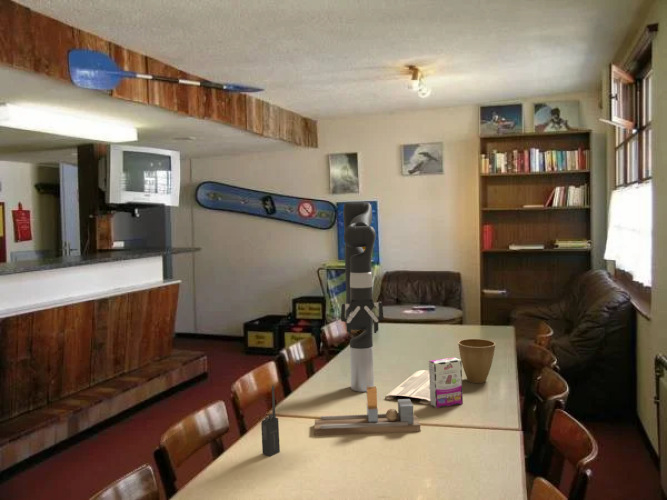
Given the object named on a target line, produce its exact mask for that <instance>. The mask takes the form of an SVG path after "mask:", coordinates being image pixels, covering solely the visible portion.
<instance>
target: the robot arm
mask: <svg viewBox="0 0 667 500" xmlns="http://www.w3.org/2000/svg"><path fill="white" fill-rule="evenodd" d="M372 207H373V206H372V204H371V203H370V202H368V201H347V202H345V203H344V205H343V207H342V208H343V211H342V213H343V214H342V215H343V229H344V233H343V240H344V244H345V245H344V247H345V248H344V249H345V251H344V254H345V255H344V256H345V257H344V267H345V268H344V270H345V271H344V272H345V276H344V277H345V303H344V302H342V303H341V305H340V306H341V307H340V321H341V322H344V323H345V327H346V332H347V333H348V334H349V335H352V331H363V332H362V333H360V334H359V335H357V336H353V337H352V338H351V339H349V357H350V358H349V359H350V361H349V362H350V363H349V364H350V365H349V366H350V389H351V390H352V391H354V392H362V393H363V392H367V387H375V385H374V384H375V380H374V379H375V377H374V376H375V375H374V345H373V343H374V342H373V340H374V339H373V338H374V337H373V334H377V332H379V322H380V321H383V320H384V309H383V308H384V307H383V303H382V301H378V302H374V298H373V297H374V296H373V294H374V293H373V292H374V291H373V283H374V282H373V275H372V254H373V249H374V245H375V242H376V237H377V234H376V230H375V228H374V226H371V224H372V221H373V208H372ZM363 248H365V249H363ZM374 307H375V308H376V309H377V310H378V316H376V315H375V313H374V312H373V309H374Z"/></svg>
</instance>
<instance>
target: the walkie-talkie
mask: <svg viewBox="0 0 667 500" xmlns="http://www.w3.org/2000/svg"><path fill="white" fill-rule="evenodd" d="M271 395H272V397H271V398H272V399H271V401H272V402H271V405H272V407H271V409H272V414H268V415H267V416H265V417H264V419H263V420H261V424H260V426H261V443H262V444H261V446H262V454H263V455H264V456H267V457H272V456H274V455H277V454H279V453H280V452H281V451H280V450H281V449H280V448H281V447H280V428H279V417H277V416H276V415H277V414H276V402H275V401H276V400H275V385H272V386H271Z"/></svg>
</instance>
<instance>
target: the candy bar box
mask: <svg viewBox="0 0 667 500" xmlns="http://www.w3.org/2000/svg"><path fill="white" fill-rule="evenodd" d="M462 368H463V365H462V361H461V358H458V357H448V358H447V357H446V358H441V359H432V360H429V361H428V371H429V379H430V402H429V403H430V404H429V405H431V406H432V407H434V408H437V409H439V408H444V407H446V408H447V407H452V406H457V405H462V404H464V400H463V399H464V398H463V397H464V396H463V371H462Z"/></svg>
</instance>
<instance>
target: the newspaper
mask: <svg viewBox="0 0 667 500" xmlns="http://www.w3.org/2000/svg"><path fill="white" fill-rule="evenodd" d="M397 396H399V397H405V398H406V397H407V398H408V397H409V398H415V399H421V400H420V401H419V402H418V403H420V404H425V405H431V404H430V379H429V370H427V369H426V370H424V369H422V370H417V371H415V372H414V373H413V374H411V375H410V376H408V377H407V378H406V379H405V380H404V381H403V382H401V383H400V384H398V386H396V387H395V388H394V389H392V390H391V391H390V392H389V393H387V394H386V395H385V396H384V398H385V400H393V399H395V398H396V397H397Z"/></svg>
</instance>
